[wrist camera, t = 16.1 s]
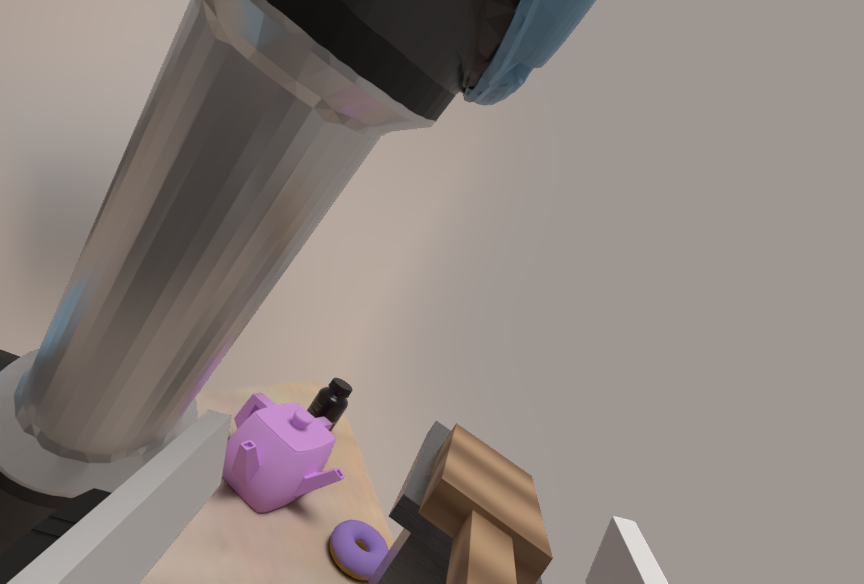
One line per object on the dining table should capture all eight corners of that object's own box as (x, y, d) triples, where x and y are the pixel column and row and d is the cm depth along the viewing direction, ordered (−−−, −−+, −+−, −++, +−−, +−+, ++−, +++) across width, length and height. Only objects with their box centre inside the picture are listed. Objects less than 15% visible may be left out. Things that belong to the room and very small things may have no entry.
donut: (338, 587, 58) (355, 552, 58) (312, 543, 65) (327, 512, 65) (393, 586, 64) (407, 554, 64) (364, 546, 71) (377, 518, 72)
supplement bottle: (326, 445, 89) (357, 398, 89) (296, 431, 88) (328, 382, 87) (327, 429, 96) (356, 385, 95) (300, 415, 94) (329, 370, 94)
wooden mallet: (564, 860, 15) (613, 793, 15) (359, 691, 16) (401, 627, 16) (514, 500, 43) (531, 476, 43) (440, 447, 44) (456, 423, 44)
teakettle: (305, 460, 80) (340, 405, 80) (316, 530, 65) (359, 464, 65) (215, 431, 72) (253, 370, 72) (204, 503, 57) (252, 428, 57)
